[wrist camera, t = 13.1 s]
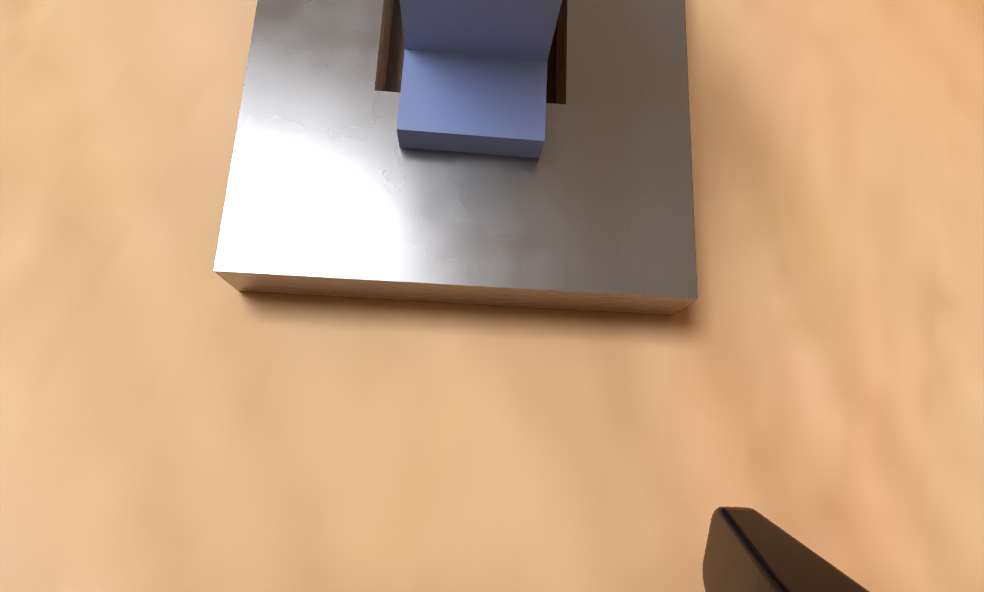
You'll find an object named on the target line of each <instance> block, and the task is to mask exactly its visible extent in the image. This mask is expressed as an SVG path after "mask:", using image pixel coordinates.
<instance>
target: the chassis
mask: <svg viewBox="0 0 984 592" xmlns="http://www.w3.org/2000/svg"><path fill="white" fill-rule="evenodd" d="M393 5H394V0H258V2H257V8H256V14H255V20H254V27H253V33H252V39H251V45H250V51H249V57H248V63H247V69H246V75H245V82H244V88H243V94H242V100H241V106H240V112H239V118H238V124H237V130H236V137H235V143H234V149H233V155H232V161H231V167H230V173H229V179H228V186H227V192H226V198H225V204H224V210H223V216H222V222H221V228H220V234H219V241H218V247H217V253H216V259H215V265H214V272H216V273H217V274H218V275H219V276H221V277H222V278H223V279H224V280H225V281H227V282H228V283H229V284H230V285H232V286H233V287H234V288H235V289H236V290H238V291H249V292H267V293H285V294H303V295H320V296H338V297H356V298H374V299H391V300H409V301H427V302H444V303H462V304H480V305H498V306H515V307H533V308H551V309H568V310H586V311H604V312H622V313H639V314H657V315H674V314H676V313H677V312H679V311H680V310H682V309H683V308H685V307H686V306H688V305H689V304H691V303H692V302H694V301H695V300H696V299H698V298H697V275H696V252H695V229H694V206H693V183H692V160H691V137H690V114H689V91H688V68H687V44H686V21H685V0H562V2H561V7H560V11H559V15H558V19H557V66H556V104H553V103H546V118H545V142H544V145H543V149H542V152H541V155H540V158H531V157H518V156H505V155H493V154H480V153H467V152H454V151H441V150H429V149H416V148H403V147H399V141H398V135H397V120H398V110H399V100H400V92H388V91H385V87H386V76H387V66H388V56H389V46H390V35H391V25H392V15H393Z"/></svg>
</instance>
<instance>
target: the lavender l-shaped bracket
mask: <svg viewBox="0 0 984 592" xmlns="http://www.w3.org/2000/svg"><path fill="white" fill-rule="evenodd" d="M399 1H400V10H401V19H402V28H403V37H404V46H405V52H404V62H403V71H402V81H401V91H400V100H399V110H398V120H397V135H398V141H399V147H403V148H416V149H429V150H441V151H454V152H467V153H480V154H493V155H505V156H518V157H531V158H540V155H541V152H542V149H543V145H544V142H545V118H546V89H547V61H548V57H549V53H550V48H551V44H552V40H553V36H554V32H555V27H556V23H557V19H558V15H559V11H560V7H561V2H562V0H399Z"/></svg>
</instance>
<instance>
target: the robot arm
mask: <svg viewBox="0 0 984 592" xmlns="http://www.w3.org/2000/svg"><path fill="white" fill-rule="evenodd" d="M703 581H704V587H705V591H706V592H869V591H868V590H866V589H865V588H864V587H862V586H861V585H859V584H858V583H857V582H855V581H854V580H852V579H851V578H850V577H848V576H847V575H845V574H844V573H843V572H841V571H840V570H838V569H837V568H836V567H834V566H833V565H831V564H830V563H829V562H827V561H826V560H824V559H823V558H822V557H820V556H819V555H817V554H816V553H814V552H813V551H812V550H810V549H809V548H807V547H806V546H805V545H803V544H802V543H800V542H799V541H798V540H796V539H795V538H793V537H792V536H791V535H789V534H788V533H786V532H785V531H784V530H782V529H781V528H779V527H778V526H777V525H775V524H774V523H772V522H771V521H770V520H768V519H767V518H765V517H764V516H763V515H761V514H760V513H758V512H757V511H755V510H754V509H751V508H745V507H719V508H717V509H716V510H715V511H714V513H713V515H712V519H711V523H710V529H709V534H708V539H707V544H706V550H705V555H704V560H703Z"/></svg>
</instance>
